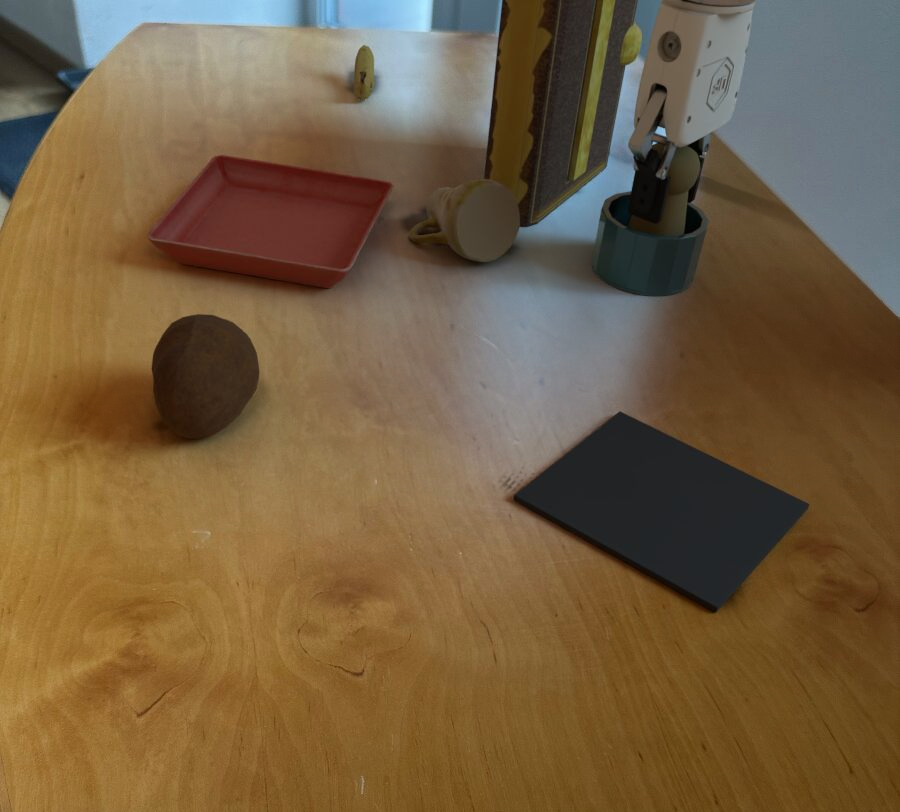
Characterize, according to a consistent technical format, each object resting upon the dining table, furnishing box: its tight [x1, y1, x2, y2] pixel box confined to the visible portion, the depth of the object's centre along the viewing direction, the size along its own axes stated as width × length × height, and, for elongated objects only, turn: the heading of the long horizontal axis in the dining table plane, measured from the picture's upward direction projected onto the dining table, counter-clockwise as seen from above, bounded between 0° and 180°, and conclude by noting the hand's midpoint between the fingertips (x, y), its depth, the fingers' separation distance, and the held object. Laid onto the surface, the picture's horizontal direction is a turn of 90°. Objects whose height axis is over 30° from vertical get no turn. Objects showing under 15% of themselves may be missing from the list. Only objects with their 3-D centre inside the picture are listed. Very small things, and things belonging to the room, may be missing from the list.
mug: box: [407, 178, 521, 263], centre depth 95 cm, size 8×10×10 cm
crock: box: [591, 190, 710, 297], centre depth 94 cm, size 10×10×6 cm
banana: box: [353, 44, 375, 101], centre depth 121 cm, size 10×2×4 cm, turn 1°
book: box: [483, 0, 643, 228], centre depth 99 cm, size 22×8×25 cm, turn 150°
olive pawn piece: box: [628, 142, 700, 236], centre depth 92 cm, size 6×6×11 cm
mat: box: [513, 411, 810, 613], centre depth 72 cm, size 16×14×1 cm
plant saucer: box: [146, 154, 395, 289], centre depth 93 cm, size 18×18×3 cm
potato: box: [151, 313, 260, 440], centre depth 72 cm, size 7×10×8 cm
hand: (661, 205), depth 92 cm, fingers closed on olive pawn piece, 5 cm apart
